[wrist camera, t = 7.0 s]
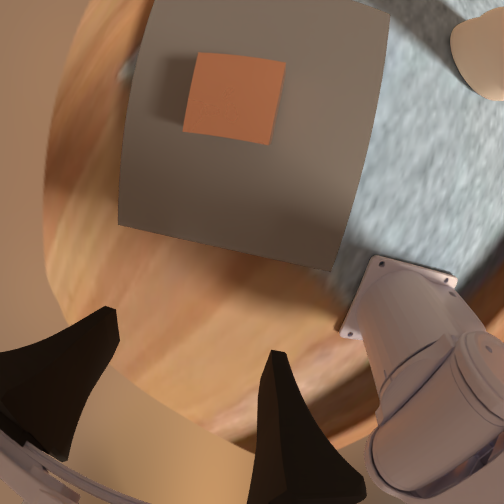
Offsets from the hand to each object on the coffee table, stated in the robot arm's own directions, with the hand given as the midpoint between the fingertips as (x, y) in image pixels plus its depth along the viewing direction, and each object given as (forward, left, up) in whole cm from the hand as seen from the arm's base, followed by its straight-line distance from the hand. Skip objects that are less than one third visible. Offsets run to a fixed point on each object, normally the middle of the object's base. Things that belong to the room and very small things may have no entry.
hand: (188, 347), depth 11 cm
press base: (0, -10, -10) cm, 15 cm away
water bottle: (-17, -21, -11) cm, 29 cm away
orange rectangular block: (0, -10, -10) cm, 15 cm away
